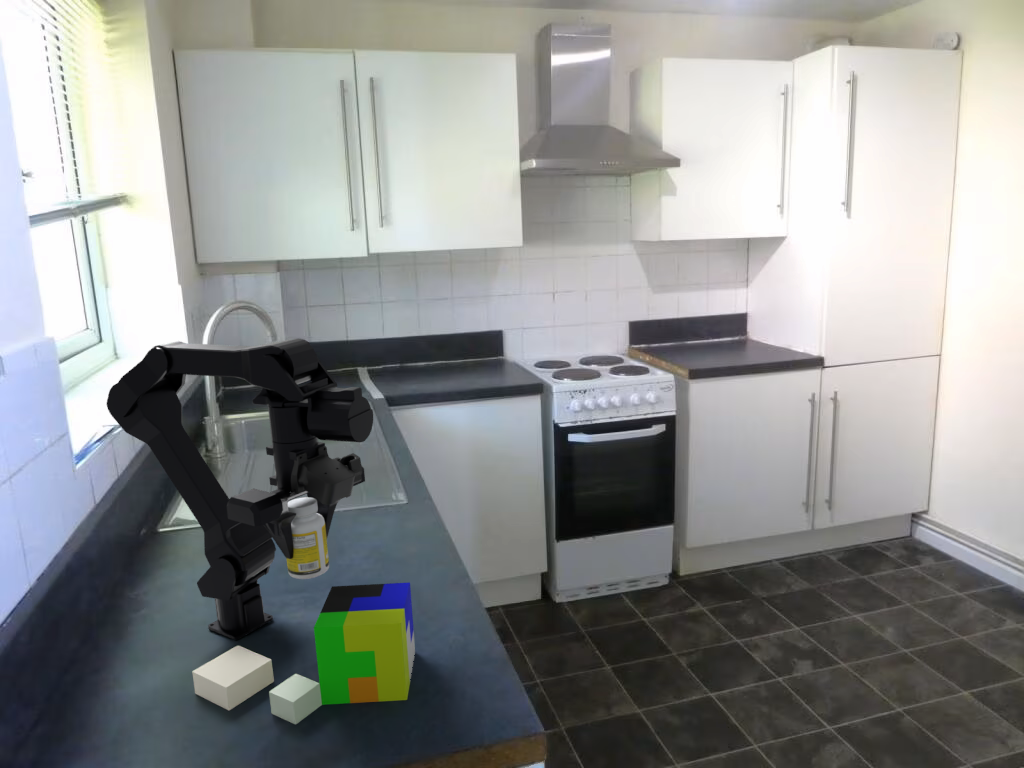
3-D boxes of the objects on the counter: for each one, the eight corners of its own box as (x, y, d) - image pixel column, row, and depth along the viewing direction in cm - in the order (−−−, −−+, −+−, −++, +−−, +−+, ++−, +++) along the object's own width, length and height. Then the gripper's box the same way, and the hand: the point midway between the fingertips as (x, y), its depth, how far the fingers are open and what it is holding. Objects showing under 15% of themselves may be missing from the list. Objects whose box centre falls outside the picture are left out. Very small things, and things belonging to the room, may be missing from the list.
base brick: (195, 693, 89) (192, 671, 88) (240, 666, 94) (237, 645, 93) (229, 710, 85) (226, 687, 85) (274, 681, 91) (271, 659, 90)
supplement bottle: (309, 559, 102) (302, 492, 100) (337, 567, 99) (331, 498, 97) (279, 575, 97) (271, 505, 95) (308, 583, 95) (300, 512, 93)
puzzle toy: (415, 652, 96) (410, 582, 94) (407, 700, 86) (401, 623, 84) (338, 656, 96) (331, 586, 94) (321, 705, 86) (313, 627, 84)
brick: (271, 714, 85) (268, 691, 84) (298, 695, 88) (295, 673, 87) (295, 725, 82) (293, 702, 82) (321, 706, 86) (319, 683, 85)
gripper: (278, 466, 82) (292, 593, 86) (390, 427, 98) (398, 536, 101) (216, 454, 88) (232, 573, 92) (331, 418, 104) (341, 521, 107)
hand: (306, 549), depth 98 cm, fingers closed on supplement bottle, 5 cm apart
